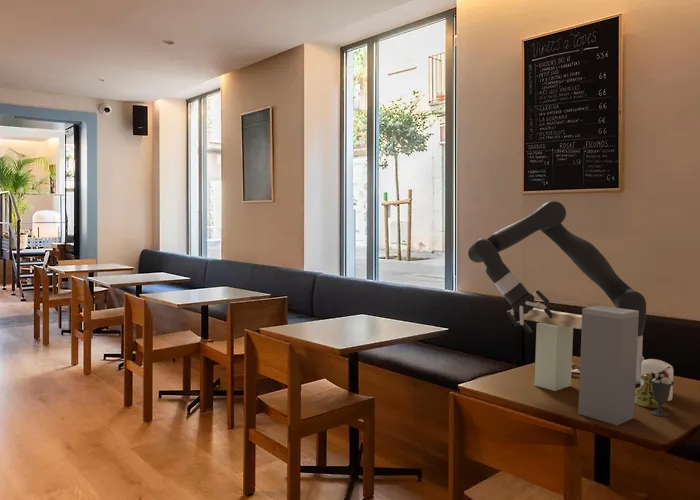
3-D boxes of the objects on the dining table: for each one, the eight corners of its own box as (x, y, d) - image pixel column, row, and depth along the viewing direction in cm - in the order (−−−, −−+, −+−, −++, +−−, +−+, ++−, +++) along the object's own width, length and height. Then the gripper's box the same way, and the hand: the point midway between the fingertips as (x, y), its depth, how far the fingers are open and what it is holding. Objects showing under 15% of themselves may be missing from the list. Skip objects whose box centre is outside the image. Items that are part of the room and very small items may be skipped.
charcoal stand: (578, 413, 176) (582, 308, 174) (595, 407, 182) (599, 305, 180) (617, 425, 166) (622, 314, 164) (633, 418, 173) (638, 310, 171)
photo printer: (637, 393, 197) (639, 357, 196) (646, 391, 199) (648, 355, 198) (665, 402, 188) (667, 364, 187) (674, 400, 190) (676, 363, 189)
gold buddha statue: (659, 410, 180) (661, 378, 180) (633, 405, 184) (634, 374, 184) (661, 403, 186) (663, 372, 186) (636, 399, 190) (637, 369, 190)
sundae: (675, 418, 172) (678, 368, 172) (651, 416, 174) (653, 367, 173) (668, 411, 179) (670, 363, 178) (644, 409, 180) (646, 361, 179)
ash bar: (521, 318, 211) (521, 307, 211) (527, 317, 214) (527, 306, 214) (583, 329, 193) (584, 317, 193) (589, 328, 195) (590, 316, 195)
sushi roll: (595, 371, 226) (595, 361, 225) (596, 381, 212) (597, 370, 211) (554, 367, 231) (555, 357, 231) (553, 377, 217) (554, 366, 217)
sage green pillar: (534, 385, 204) (536, 323, 203) (550, 380, 211) (552, 320, 209) (555, 391, 198) (557, 326, 197) (570, 385, 204) (573, 323, 203)
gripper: (493, 301, 202) (524, 339, 199) (527, 276, 197) (558, 314, 195) (495, 298, 209) (525, 334, 206) (528, 274, 204) (558, 311, 202)
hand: (541, 325), depth 200 cm, fingers open, 8 cm apart
